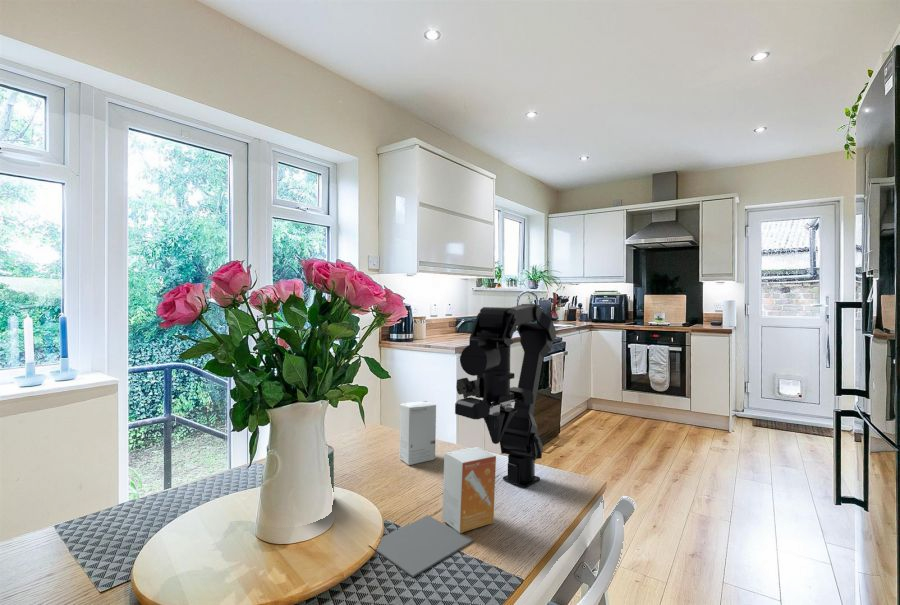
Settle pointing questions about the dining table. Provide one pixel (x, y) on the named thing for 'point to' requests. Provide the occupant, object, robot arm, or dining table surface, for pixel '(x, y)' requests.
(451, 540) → the mat
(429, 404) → the skincare box
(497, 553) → the dining table surface
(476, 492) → the small box
